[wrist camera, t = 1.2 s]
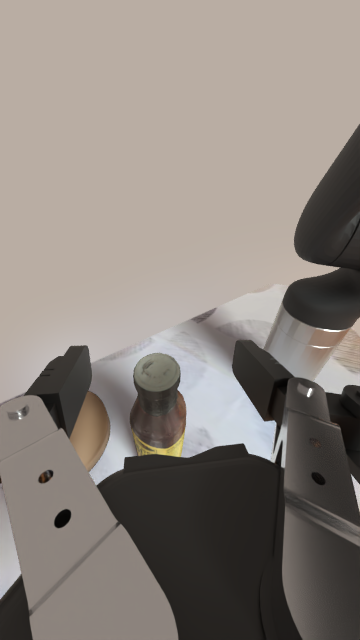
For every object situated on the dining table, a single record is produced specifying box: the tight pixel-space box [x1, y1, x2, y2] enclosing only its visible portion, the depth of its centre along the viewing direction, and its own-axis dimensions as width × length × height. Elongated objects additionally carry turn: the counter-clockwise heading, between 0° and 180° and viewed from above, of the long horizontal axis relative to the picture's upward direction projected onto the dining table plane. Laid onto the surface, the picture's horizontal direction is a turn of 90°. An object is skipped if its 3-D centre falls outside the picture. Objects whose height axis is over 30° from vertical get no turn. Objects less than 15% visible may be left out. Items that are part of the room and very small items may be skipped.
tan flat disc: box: [69, 391, 110, 472], centre depth 30 cm, size 13×13×3 cm
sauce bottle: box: [130, 353, 186, 457], centre depth 24 cm, size 7×6×20 cm
